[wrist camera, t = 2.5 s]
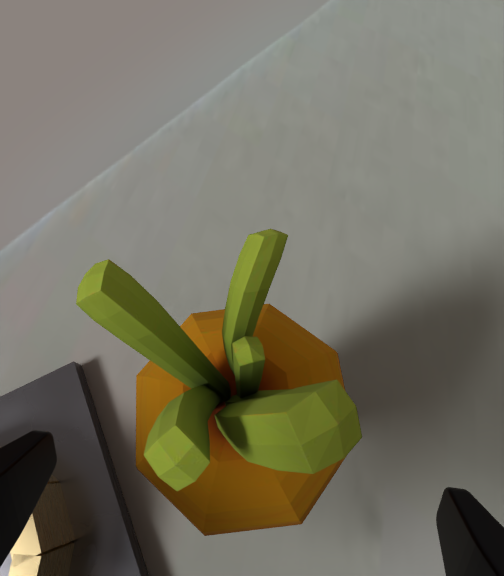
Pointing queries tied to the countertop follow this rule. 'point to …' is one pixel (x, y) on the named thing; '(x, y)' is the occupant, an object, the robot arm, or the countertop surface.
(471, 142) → the countertop surface
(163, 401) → the carrot
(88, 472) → the collar plate
